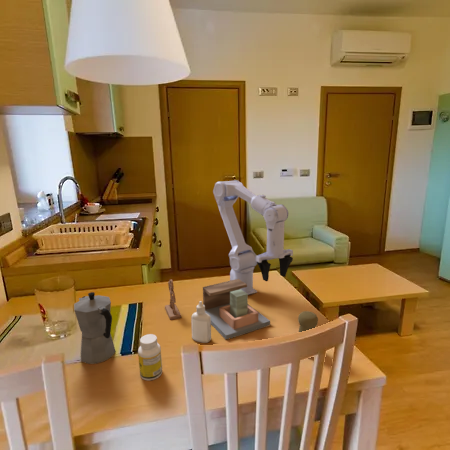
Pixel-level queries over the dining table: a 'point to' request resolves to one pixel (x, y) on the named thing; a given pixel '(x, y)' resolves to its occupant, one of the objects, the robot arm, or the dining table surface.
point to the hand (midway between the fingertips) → (274, 278)
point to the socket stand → (235, 321)
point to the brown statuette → (172, 304)
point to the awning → (220, 293)
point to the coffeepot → (95, 328)
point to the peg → (238, 303)
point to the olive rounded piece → (307, 320)
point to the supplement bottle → (149, 357)
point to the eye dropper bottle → (201, 324)
